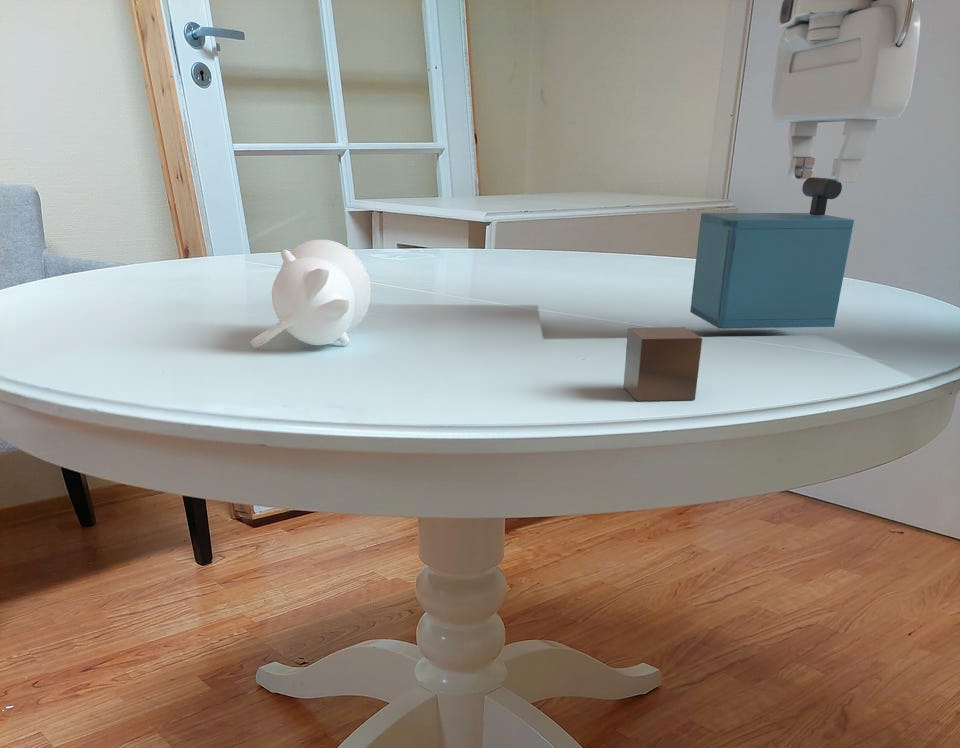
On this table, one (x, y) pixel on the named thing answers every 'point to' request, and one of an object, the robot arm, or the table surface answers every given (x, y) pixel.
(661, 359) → the block
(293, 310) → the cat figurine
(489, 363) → the table surface
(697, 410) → the table surface
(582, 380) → the table surface
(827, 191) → the tub
